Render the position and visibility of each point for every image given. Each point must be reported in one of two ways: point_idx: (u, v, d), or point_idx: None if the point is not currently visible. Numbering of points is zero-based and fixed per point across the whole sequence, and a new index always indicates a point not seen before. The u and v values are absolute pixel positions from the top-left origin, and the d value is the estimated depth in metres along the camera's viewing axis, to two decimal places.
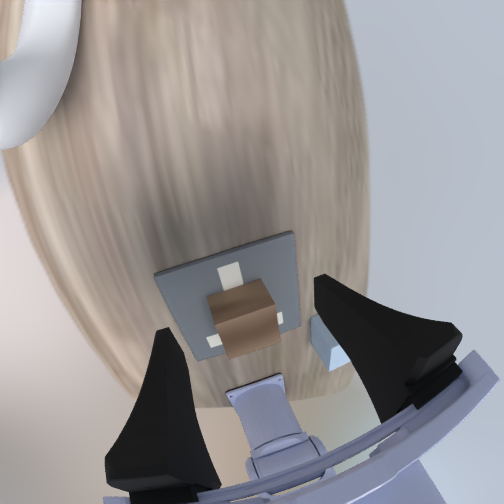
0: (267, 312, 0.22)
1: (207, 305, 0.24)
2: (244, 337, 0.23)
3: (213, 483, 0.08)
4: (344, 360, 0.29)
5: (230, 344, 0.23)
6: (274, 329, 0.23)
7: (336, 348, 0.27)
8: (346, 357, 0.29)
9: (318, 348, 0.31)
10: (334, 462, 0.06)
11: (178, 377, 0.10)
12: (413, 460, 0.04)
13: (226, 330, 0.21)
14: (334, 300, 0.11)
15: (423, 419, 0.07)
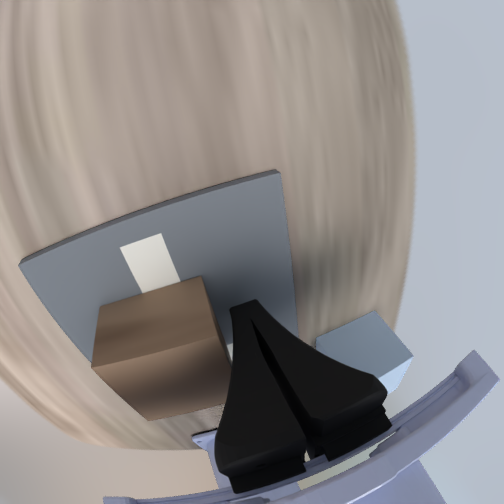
0: (201, 351, 0.09)
1: None
2: (165, 393, 0.10)
3: None
4: None
5: (140, 402, 0.10)
6: (225, 381, 0.11)
7: None
8: None
9: None
10: (334, 462, 0.06)
11: None
12: (413, 460, 0.04)
13: (120, 379, 0.09)
14: (256, 330, 0.11)
15: (423, 419, 0.07)
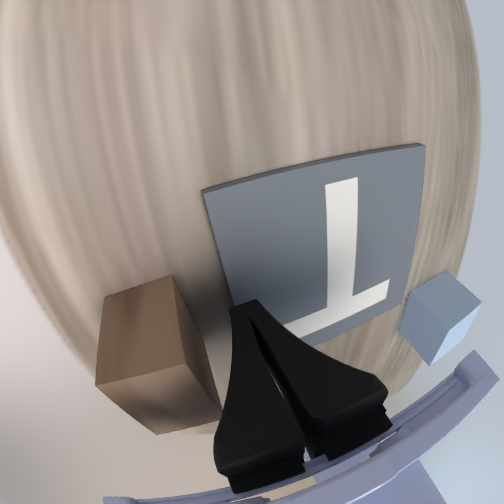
0: None
1: (295, 263, 0.13)
2: None
3: None
4: (447, 348, 0.18)
5: None
6: None
7: (451, 330, 0.16)
8: (450, 344, 0.18)
9: (414, 335, 0.20)
10: (334, 462, 0.06)
11: None
12: (413, 460, 0.04)
13: None
14: (257, 330, 0.11)
15: (423, 419, 0.07)
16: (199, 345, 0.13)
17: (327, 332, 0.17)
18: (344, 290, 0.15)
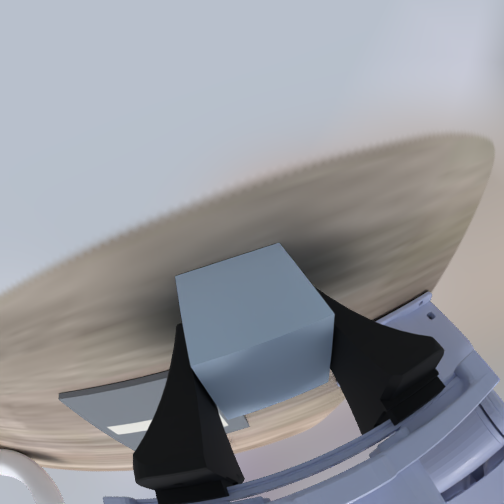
0: None
1: None
2: None
3: (238, 477, 0.08)
4: (309, 370, 0.10)
5: None
6: None
7: (235, 412, 0.11)
8: (298, 371, 0.10)
9: None
10: (334, 462, 0.06)
11: None
12: (413, 460, 0.04)
13: None
14: None
15: (423, 419, 0.07)
16: None
17: None
18: None
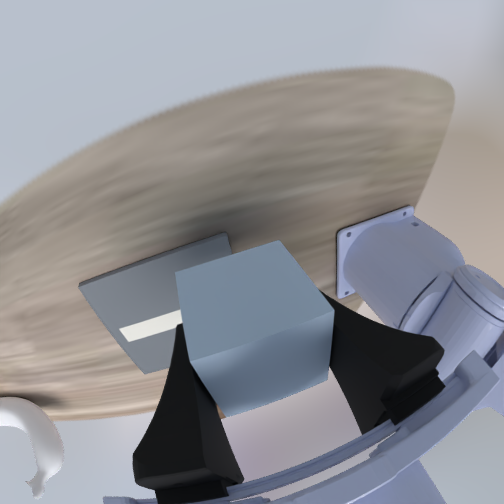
0: None
1: (172, 343, 0.23)
2: None
3: (237, 477, 0.08)
4: (308, 367, 0.10)
5: None
6: None
7: (233, 409, 0.11)
8: (298, 368, 0.10)
9: None
10: (334, 462, 0.06)
11: None
12: (413, 460, 0.04)
13: None
14: None
15: (423, 419, 0.07)
16: None
17: None
18: None
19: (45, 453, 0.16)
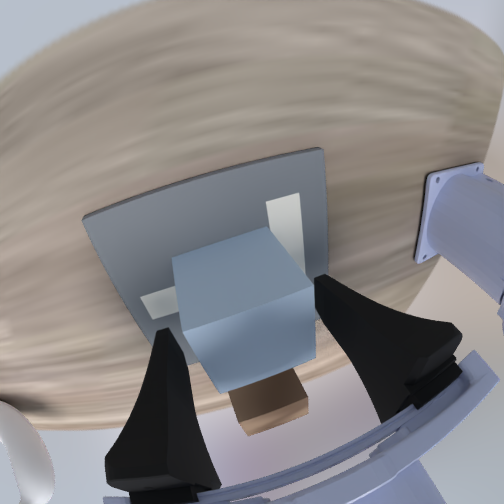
0: None
1: None
2: None
3: (212, 483, 0.08)
4: (295, 343, 0.12)
5: None
6: None
7: (226, 385, 0.12)
8: (284, 343, 0.11)
9: None
10: (334, 462, 0.06)
11: (178, 377, 0.10)
12: (413, 460, 0.04)
13: None
14: (334, 300, 0.11)
15: (423, 419, 0.07)
16: None
17: (315, 263, 0.16)
18: None
19: (29, 478, 0.09)
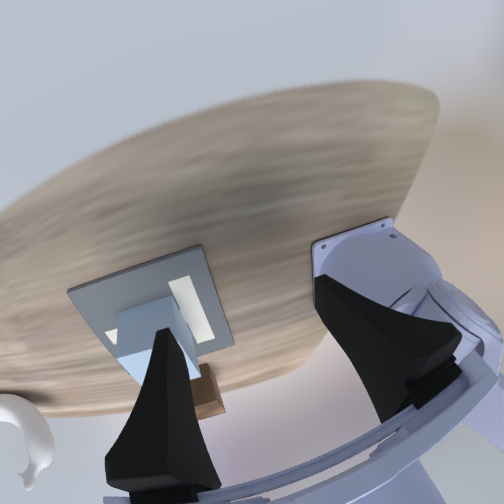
0: None
1: None
2: None
3: (212, 483, 0.08)
4: None
5: None
6: None
7: None
8: None
9: None
10: (334, 462, 0.06)
11: (178, 377, 0.10)
12: (413, 460, 0.04)
13: None
14: (334, 300, 0.11)
15: (423, 419, 0.07)
16: (195, 378, 0.27)
17: (213, 313, 0.24)
18: None
19: (37, 447, 0.17)
